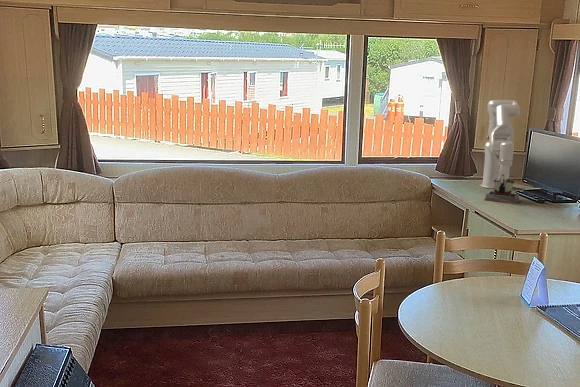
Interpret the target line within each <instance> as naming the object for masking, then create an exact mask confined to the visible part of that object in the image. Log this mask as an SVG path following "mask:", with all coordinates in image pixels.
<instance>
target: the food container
mask: <svg viewBox="0 0 580 387" xmlns="http://www.w3.org/2000/svg"><path fill="white" fill-rule="evenodd" d="M500 181H501V180H500ZM500 181H498V178H495V179H494V181H493V182H494V188H493V191H494V195H500V196H509V197H511V193H512V192H513V189H514V188H513V187H514V185H515V184H516V183H515V180H514V179H511V178H509V179H508V180H507V181H506V182H505V193H499V187H500ZM503 181H504V180H503ZM503 183H504V182H503Z"/></svg>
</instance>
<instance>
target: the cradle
mask: <svg viewBox="0 0 580 387" xmlns="http://www.w3.org/2000/svg"><path fill="white" fill-rule="evenodd" d="M519 197H520V194H518V193H512V192H511V197H509V196H500V195H494V190H493V191H492V190H489V191H488V192H486V193H485V198H484V201H486V202H487V201H488V202H495V203H503V204H504V203H505V204H511V205H512V204H513V205H517V203H518V202H519V201H520V198H519Z"/></svg>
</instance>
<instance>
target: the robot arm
mask: <svg viewBox="0 0 580 387" xmlns="http://www.w3.org/2000/svg"><path fill="white" fill-rule="evenodd" d="M487 113H488V116H489V123H488V129H487V130H488V132H487V133H488V137H489V138H488V139H489V140H488V141H486V142H485V144H484V162H483V163H484V164H483V175H482V177H483V178H482V183H479V187H480V188H486V189H494V182H493V181H494V179H495V178H498V181H500V180H501V181H500V187H499V193H505V182H506V181H507V180H508V179H510V177H509V176H510V170H511V169H510V168H511V167H512V166H513V159H514V158H513V157H514V151H515V150H514V149H515V143H514V136H515V134H514V133H515V132H514V127H513V126H512V125H511V119H514V118H515V119H517V118H519V117H520V114H521V108H520V105H519V104H518V102H517V101H516V100H513V99H492V100H489V101H488V103H487ZM497 156H499V158H498V157H497ZM503 180H504V181H503ZM503 182H504V183H503Z"/></svg>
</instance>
